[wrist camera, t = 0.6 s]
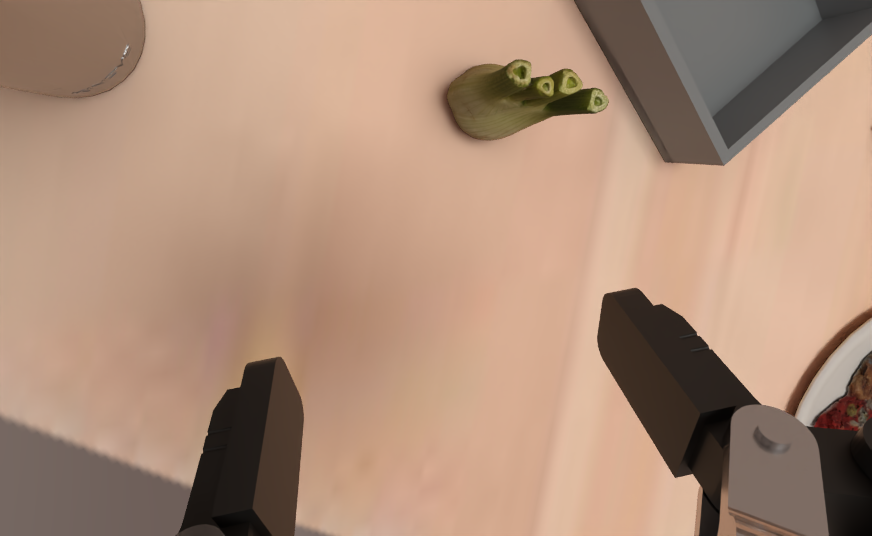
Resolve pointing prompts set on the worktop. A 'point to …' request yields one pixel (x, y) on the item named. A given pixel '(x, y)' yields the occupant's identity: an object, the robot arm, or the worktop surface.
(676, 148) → the bin
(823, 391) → the plated food
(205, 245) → the worktop surface
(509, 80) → the fennel bulb
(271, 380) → the robot arm
